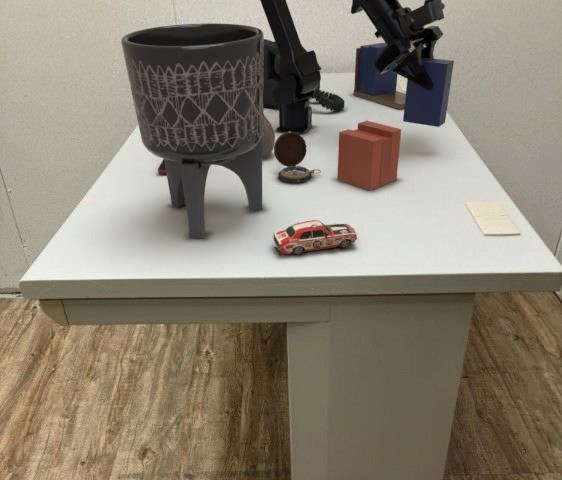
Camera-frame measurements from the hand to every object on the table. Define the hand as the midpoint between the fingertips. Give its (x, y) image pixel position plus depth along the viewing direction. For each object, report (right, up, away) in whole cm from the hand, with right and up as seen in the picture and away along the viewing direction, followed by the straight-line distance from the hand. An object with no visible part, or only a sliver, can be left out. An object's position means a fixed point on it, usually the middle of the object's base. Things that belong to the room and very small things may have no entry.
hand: (435, 86), depth 114 cm
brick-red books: (-13, -19, -3) cm, 23 cm away
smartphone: (-49, -12, +7) cm, 51 cm away
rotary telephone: (-26, +17, +44) cm, 54 cm away
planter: (-41, -28, -14) cm, 52 cm away
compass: (-26, -17, -1) cm, 31 cm away
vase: (-34, -10, +9) cm, 36 cm away
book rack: (-1, +17, +42) cm, 45 cm away
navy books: (-4, +20, +44) cm, 49 cm away
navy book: (-1, -5, +5) cm, 7 cm away
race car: (-24, -36, -24) cm, 49 cm away
